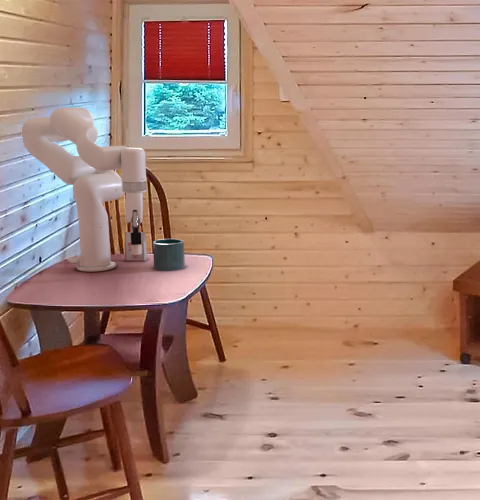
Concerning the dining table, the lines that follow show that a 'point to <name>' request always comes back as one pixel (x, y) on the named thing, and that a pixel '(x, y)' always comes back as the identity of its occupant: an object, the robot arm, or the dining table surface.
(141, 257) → the white printed carton
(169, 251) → the mug
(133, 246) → the glue stick
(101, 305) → the dining table surface
